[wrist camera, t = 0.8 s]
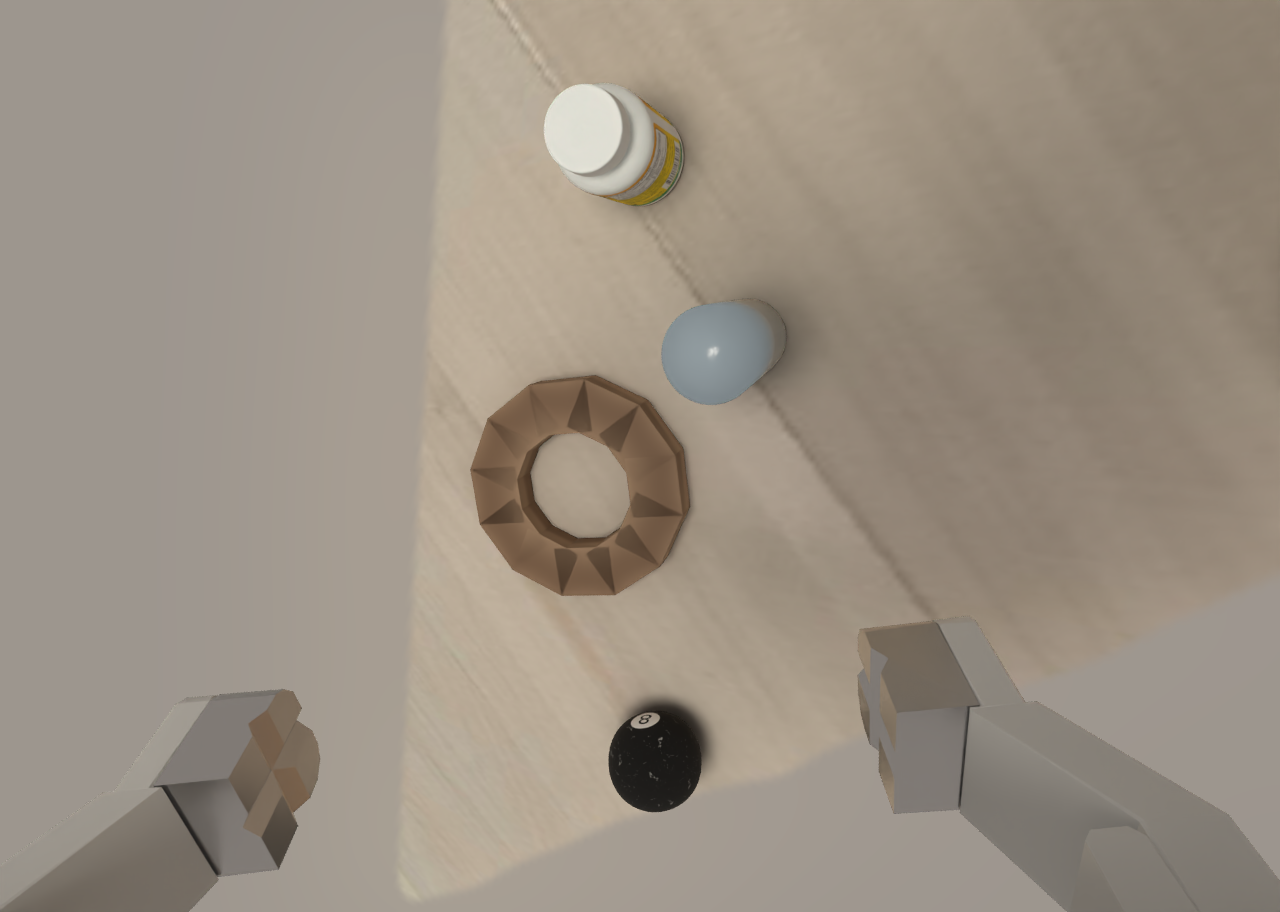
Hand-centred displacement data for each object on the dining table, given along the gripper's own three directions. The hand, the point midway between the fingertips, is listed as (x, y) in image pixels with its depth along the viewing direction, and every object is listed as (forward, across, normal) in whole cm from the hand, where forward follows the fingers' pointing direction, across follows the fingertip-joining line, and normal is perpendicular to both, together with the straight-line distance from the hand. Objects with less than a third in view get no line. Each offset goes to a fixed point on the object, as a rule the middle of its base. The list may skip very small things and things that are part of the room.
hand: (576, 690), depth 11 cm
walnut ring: (+36, +5, +17) cm, 40 cm away
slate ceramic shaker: (+36, -6, +8) cm, 37 cm away
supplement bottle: (+40, -2, -2) cm, 40 cm away
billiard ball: (+30, +2, +34) cm, 45 cm away
